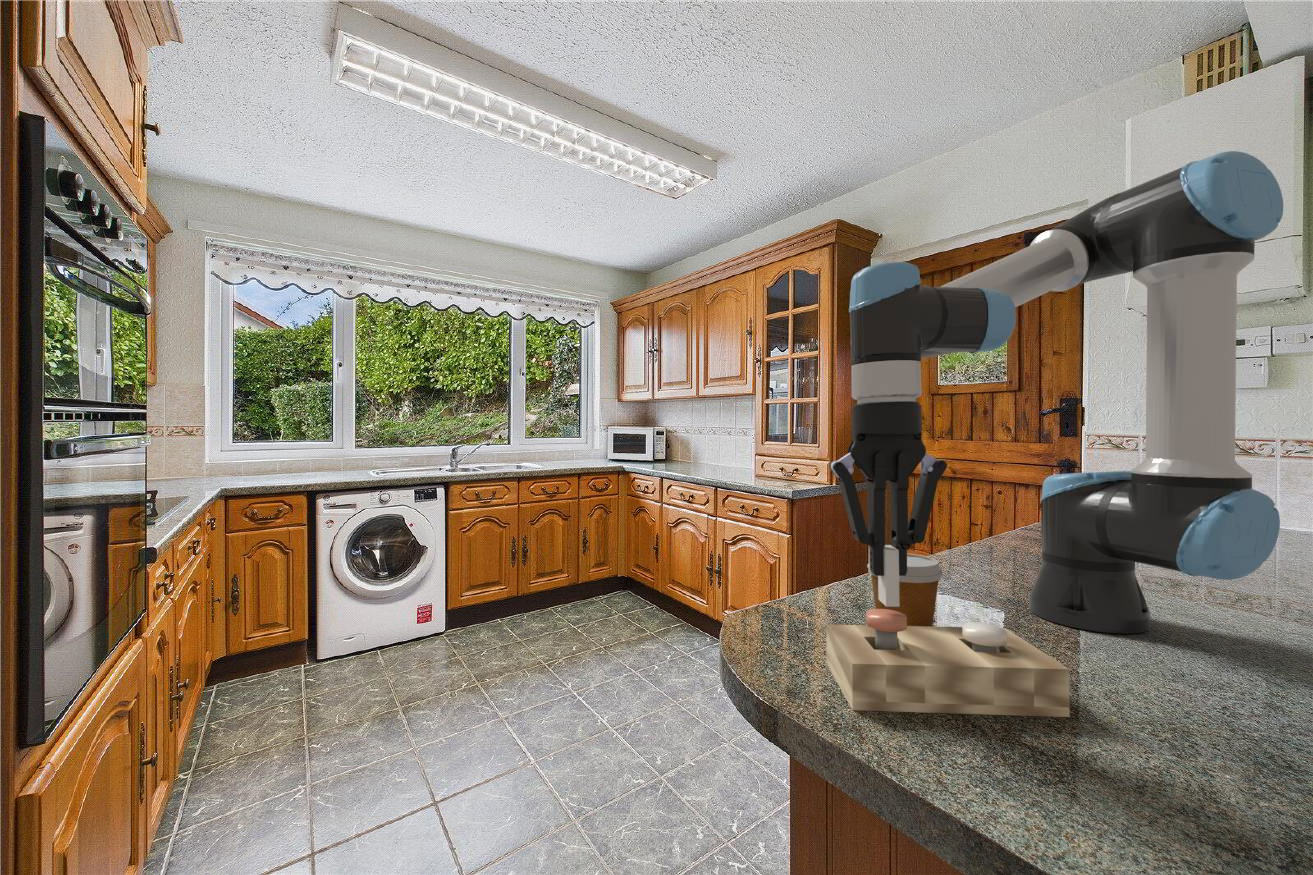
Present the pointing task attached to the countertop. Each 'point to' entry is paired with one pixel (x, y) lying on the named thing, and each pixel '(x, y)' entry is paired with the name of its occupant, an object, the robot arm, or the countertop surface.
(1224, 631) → the countertop surface
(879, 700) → the block
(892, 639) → the pink round-capped knob part
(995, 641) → the white mushroom knob
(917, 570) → the disposable coffee cup
